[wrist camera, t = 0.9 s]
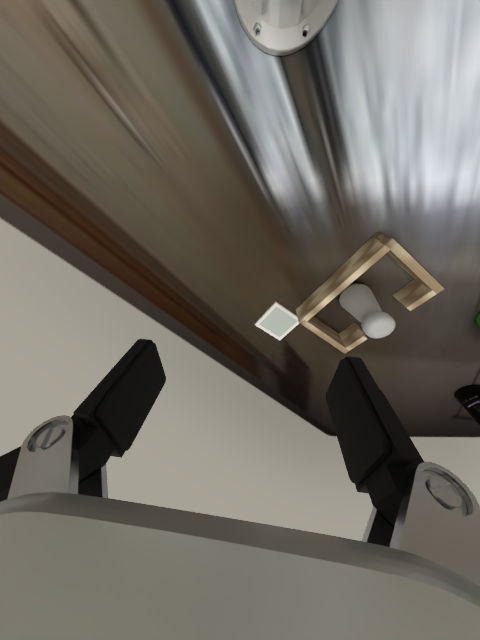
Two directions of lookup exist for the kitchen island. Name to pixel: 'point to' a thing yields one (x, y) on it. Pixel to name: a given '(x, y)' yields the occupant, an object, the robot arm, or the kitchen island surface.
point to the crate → (349, 272)
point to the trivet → (277, 321)
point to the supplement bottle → (470, 400)
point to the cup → (478, 320)
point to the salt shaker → (366, 310)
